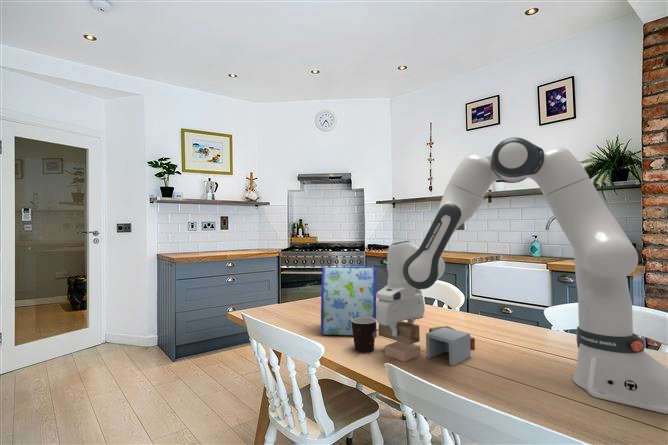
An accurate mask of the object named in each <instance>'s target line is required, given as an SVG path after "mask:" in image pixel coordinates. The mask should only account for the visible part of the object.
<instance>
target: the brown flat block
mask: <svg viewBox="0 0 668 445" xmlns="http://www.w3.org/2000/svg"><path fill="white" fill-rule="evenodd" d="M444 327H445V328H449V329H453V330H456V329H455V328H452V327H451V326H447V325H445V326H439V327H438V326H436V327H429V328H428V333H429V332H432V331H435V330H438V329H441V328H444ZM475 339H476V338H474V337H472V336H471V335H470V351H475V349H476V341H475Z"/></svg>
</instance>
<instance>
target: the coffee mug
mask: <svg viewBox="0 0 668 445" xmlns="http://www.w3.org/2000/svg"><path fill="white" fill-rule="evenodd" d="M351 324H352V331H353V335H352V337H353V343H354V344H353V345H354V350H355V352H357V353H361V354H370V353H372V352H374V350H375V342H376V341H375V340H376V336H375V331H376V330H377V319H374V318H370V317H357V318H353V319H352V320H351ZM376 332H377V331H376Z"/></svg>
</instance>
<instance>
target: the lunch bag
mask: <svg viewBox="0 0 668 445" xmlns="http://www.w3.org/2000/svg"><path fill="white" fill-rule="evenodd" d="M377 271H378V269H377V267H375V266H373V267H372V266H369V265H368V266H366V265H365V266H323V267H322V273H321V286H320V288H321V289H320V290H321V291H320V292H321V293H320V295H321V296H320V335H329V336H331V335H332V336H333V335H334V336H353V331H352V324H351V320H352V319H353V318H357V317H370V318H374V319H376V305H377V297H376V294H377V287H378V286H377ZM376 320H377V319H376ZM377 330H378V329H376V331H375V337H377Z"/></svg>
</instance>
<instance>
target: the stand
mask: <svg viewBox="0 0 668 445" xmlns="http://www.w3.org/2000/svg"><path fill="white" fill-rule="evenodd" d="M384 355H385V356H387V357H390V358H393V359H395V360H399V361H402V362H407V361H410V360H412V359H416V358H418V357H419V356H421V345H420V344H416V343H414V344H411V345H408V344H405V343H402V342H398V341H395V342H391V343H389V344H386V345H385V346H384Z"/></svg>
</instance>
